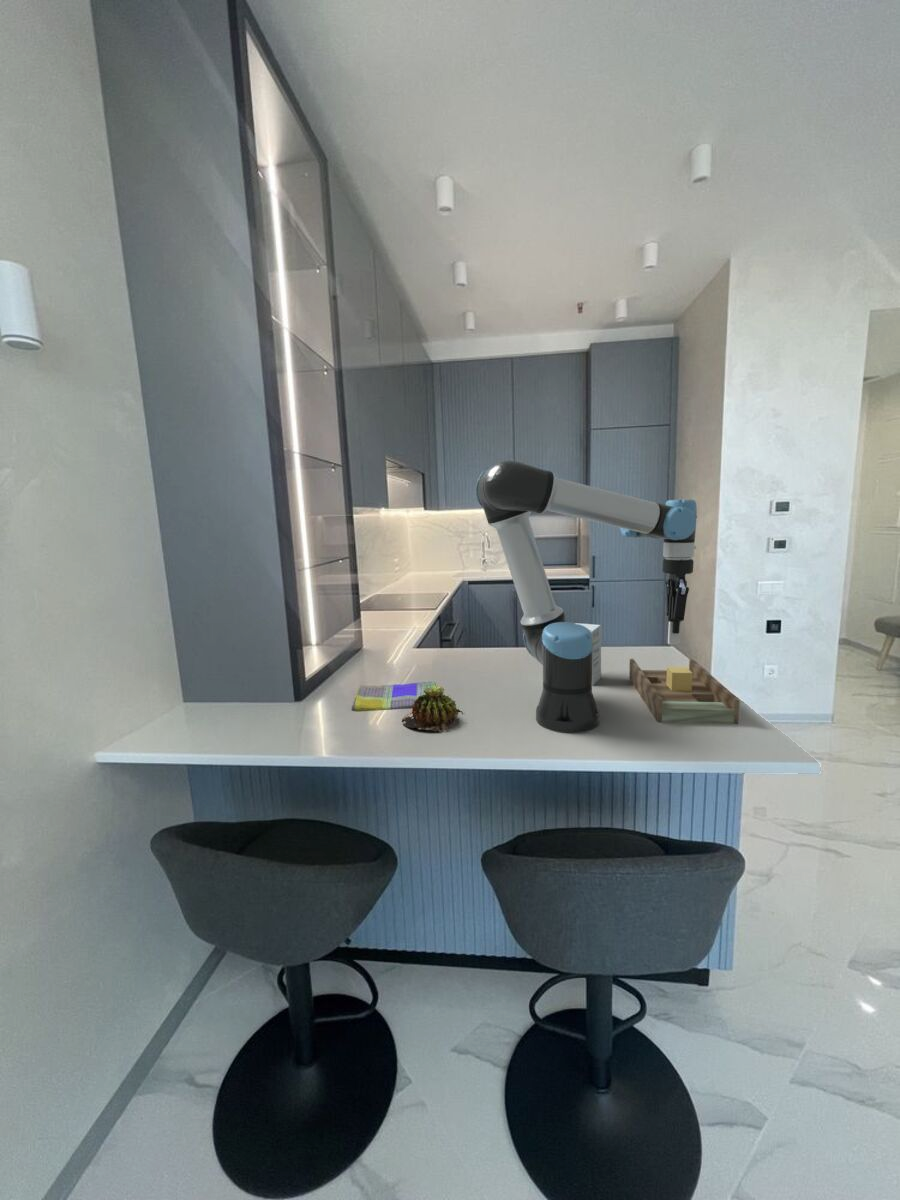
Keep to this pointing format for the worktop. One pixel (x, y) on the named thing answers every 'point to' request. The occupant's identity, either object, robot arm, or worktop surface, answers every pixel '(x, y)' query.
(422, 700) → the cactus
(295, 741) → the worktop surface
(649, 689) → the tray
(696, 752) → the worktop surface
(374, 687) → the dish towel
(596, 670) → the supplement box
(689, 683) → the block
